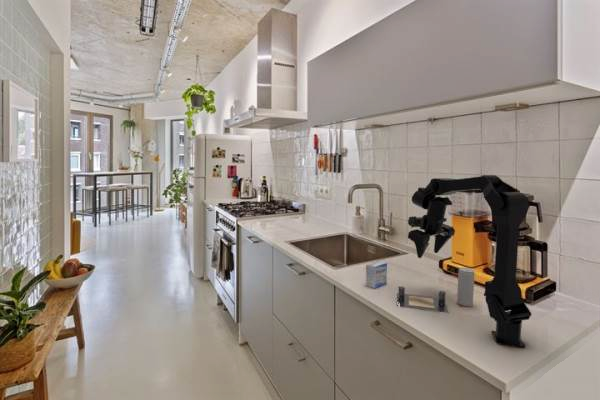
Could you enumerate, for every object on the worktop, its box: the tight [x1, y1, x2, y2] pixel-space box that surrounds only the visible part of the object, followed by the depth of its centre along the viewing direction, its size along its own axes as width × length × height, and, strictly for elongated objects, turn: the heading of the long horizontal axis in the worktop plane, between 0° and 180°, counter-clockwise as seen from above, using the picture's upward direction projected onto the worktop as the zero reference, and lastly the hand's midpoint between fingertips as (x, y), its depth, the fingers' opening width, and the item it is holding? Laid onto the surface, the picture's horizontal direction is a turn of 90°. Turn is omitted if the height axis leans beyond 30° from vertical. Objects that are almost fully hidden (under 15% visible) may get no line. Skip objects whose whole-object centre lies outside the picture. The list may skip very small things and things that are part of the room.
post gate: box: [396, 286, 450, 314], centre depth 113 cm, size 12×16×5 cm
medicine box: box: [365, 260, 388, 289], centre depth 129 cm, size 8×4×9 cm, turn 131°
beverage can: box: [456, 267, 476, 308], centre depth 111 cm, size 5×5×12 cm
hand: (427, 255), depth 118 cm, fingers open, 9 cm apart
